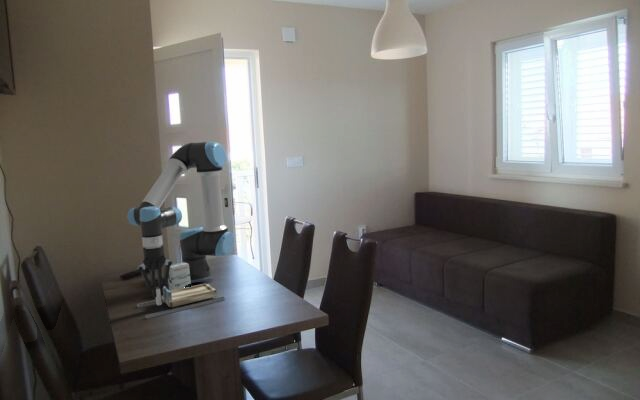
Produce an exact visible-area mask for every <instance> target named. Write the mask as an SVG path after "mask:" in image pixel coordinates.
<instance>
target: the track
mask: <svg viewBox="0 0 640 400" xmlns="http://www.w3.org/2000/svg"><path fill="white" fill-rule="evenodd" d="M221 301H225V296H220V297H215V298H213V299H211V300H209V299H206V300H202V301H198V302H194V303H189V304H185V305H181V306H177V308H170V309H165V310H161V311H157V312H154V313H149V314H145V319H152V318H155V317H160V316H163V315H168V314H169V315H170V314H173V313H176V312H182V311H185V310H189V309H193V308H198V307H202V306H206V305H211V304H215V303H219V302H221ZM161 303H165V302H164V301H163V300H162V298H161ZM136 304H137V306H136V307H137V308H142V307H146V306H147V307H148V306H150V305H155V304H156V299H154V300H150V301H145V302H140V303H136ZM156 305H157V304H156Z"/></svg>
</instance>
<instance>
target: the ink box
mask: <svg viewBox="0 0 640 400" xmlns="http://www.w3.org/2000/svg"><path fill="white" fill-rule="evenodd" d="M191 280H192V279H190V270H189V264H188V263H184V262H183V263H182V262H180V263H176V264H171V266H170V270H169V276H168V283H167V284H168V290H169V291H172V290H177V289H182V288H184V287H185V286H186V285H188V284H191V285H192V283H191V282H192V281H191Z"/></svg>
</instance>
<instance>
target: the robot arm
mask: <svg viewBox="0 0 640 400" xmlns="http://www.w3.org/2000/svg"><path fill="white" fill-rule="evenodd" d="M226 153H227V152H226V151H225V148H224V146H222V144H221V143H220V142H217V141H205V142H204V141H203V142H188V143H186V144H184V145H182V146H180V147H179V148H178V149H177V150H175V151H174V152H173V154H171V156H170V157H169V158H168V160H167V162H166V167H165V168H164V170H163V171H162V172H161V174H160V175H159V177H158V178H157V180H156V181H155V182H154V184H153V186H152V187H151V188H150V189H149V191H148V192H147V194H146V195H145V197H144V198H143V200H142V201H141V203H139V205H138V206H136V207H132V208H130V209H128V212H127V215H126V217H127V220H128V223H129V224H130V225H132V226H135V227H136V226H137V227H140V231H141V239H142V247H143V248H142V249H143V250H142V253H143V261H142V263H141V264H140V265H138V266H137V269H138V270H139V271H140V273H141V275H142V278H143V281H144V283H145V287H146V288H147V289H149V290H151V291H152V297H153V298H155V300H156V306H161V305H162V303H163V302H161V299H162V296H163V287H164V286H165V287H166V286H168V284H169V283H168V276H169V270H170V266H172V265H173V262H172V261H171V260H169V259H167V257H166V256H165V250H164V249H165V248H164V245H163V244H164V239H163V229H165V228H169V227H173V226H176V225H178V224H180V223H181V221H182V219H183V213H182V211H181V210H180V207H179V208H178V207H177V206H168V207H162V205H163V204H164V202H165V200H166V199H167V198H168V196H169V195H170V194H171V192H172V190H173V189H174V187H175V186H176V184H177V183H178V181H179V180H180V178H181V177H182V175H185V174H186V173H187V171H188V170H190V169H192V168H193V169H196V173H197V174H198V175H199V176H200V183H201V185H200V186H201V192H202V193H201V194H202V202H203V203H202V204H203V212H204V222H205V223H204V224H205V225H204V227H202V226H201V227H200V226H199V227H193V228H189V229H184V230H182V231H181V232H180V233H179V246H180V254H181V263H183V262H184V263H188V264H189V270H190V280H198V279H202V278H203V279H204V278H206V277H208V276H211V274H212V270H211V266H210V264H209V262H208V259H207V256H210V257H212V256H213V257H226V256H228V255H229V254H230V253H231V252H232V250H233V247H234V243H235V237H234V234H233V233H232V232H230V231H229V228H228V225H226V224H225V220H224V209H223V201H222V200H223V199H222V191H221V190H222V187H221V180H220V179H221V176H220V174H221V172H222V171H223V167H224V166H225V165H226V161H227V154H226ZM164 265H165V266H164ZM163 266H164V273H162V268H163ZM146 268H147V269H148V270H149V275H150V280H149V278H148V275H147V273H146V271H145V270H146ZM155 272H156V273H155ZM162 274H163V275H162ZM156 275H157V276H156ZM156 278H157V283H156Z"/></svg>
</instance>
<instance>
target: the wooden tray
mask: <svg viewBox="0 0 640 400" xmlns="http://www.w3.org/2000/svg"><path fill="white" fill-rule="evenodd" d="M214 298H218V296H217V289H216V288H214V287H213V286H211V285H210V284H208V283H207V282H205V283H200V284H196V285H191V287H186V288H182V289H177V290H172V291H169V288H167V287H166V286H164V287H163V296H161V299H162V300H163V301H164V302H163V303H165V304H166V305H167V306H168V307H169V308H170V309H173V308H178V307H180V306H184V305H189V304H193V303H197V302H201V301H206V300H211V299H214Z"/></svg>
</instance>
